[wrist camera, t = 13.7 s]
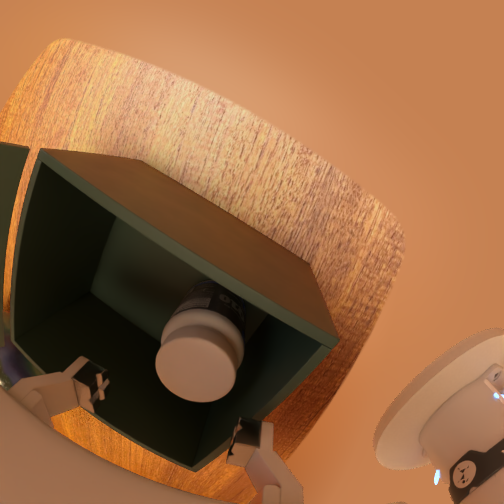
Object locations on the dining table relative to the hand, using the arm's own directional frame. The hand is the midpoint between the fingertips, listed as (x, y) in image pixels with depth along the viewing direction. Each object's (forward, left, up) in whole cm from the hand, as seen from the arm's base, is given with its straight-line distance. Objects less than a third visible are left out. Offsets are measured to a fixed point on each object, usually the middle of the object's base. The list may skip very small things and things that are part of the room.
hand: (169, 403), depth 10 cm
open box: (+3, -1, -11) cm, 12 cm away
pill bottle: (0, 0, -10) cm, 10 cm away
